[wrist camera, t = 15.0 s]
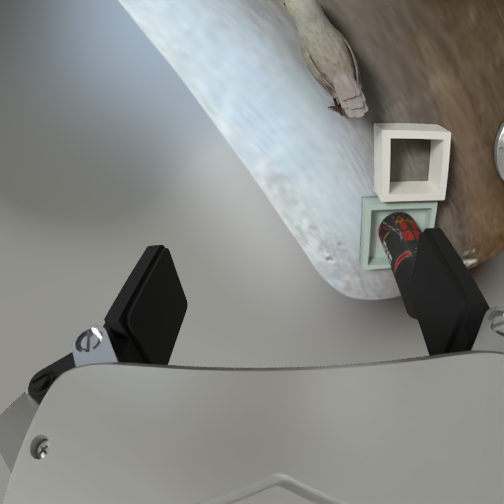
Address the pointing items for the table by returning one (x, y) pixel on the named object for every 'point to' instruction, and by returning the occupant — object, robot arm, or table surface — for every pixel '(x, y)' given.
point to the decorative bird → (328, 56)
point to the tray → (372, 218)
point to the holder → (437, 168)
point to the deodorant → (401, 251)
